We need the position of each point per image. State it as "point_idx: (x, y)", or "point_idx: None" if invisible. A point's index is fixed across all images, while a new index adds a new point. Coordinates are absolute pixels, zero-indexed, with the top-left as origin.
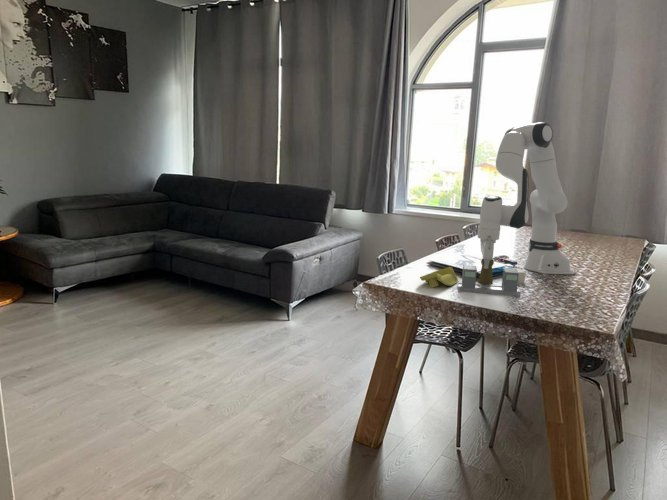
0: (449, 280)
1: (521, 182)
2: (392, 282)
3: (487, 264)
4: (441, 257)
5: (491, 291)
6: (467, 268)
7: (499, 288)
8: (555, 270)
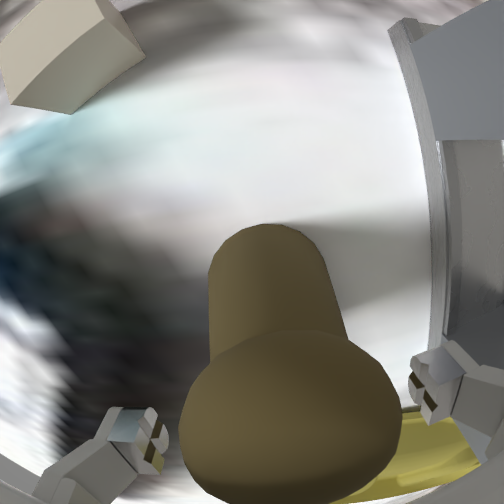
0: (414, 437)
1: None
2: (401, 499)
3: (483, 378)
4: (4, 447)
5: None
6: None
7: (479, 158)
8: None
